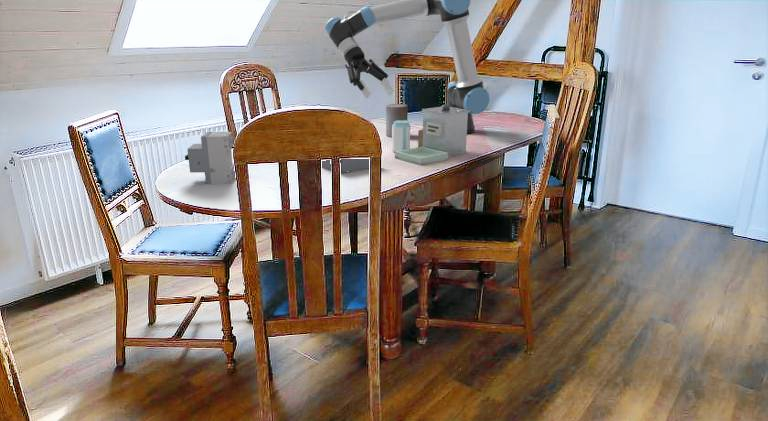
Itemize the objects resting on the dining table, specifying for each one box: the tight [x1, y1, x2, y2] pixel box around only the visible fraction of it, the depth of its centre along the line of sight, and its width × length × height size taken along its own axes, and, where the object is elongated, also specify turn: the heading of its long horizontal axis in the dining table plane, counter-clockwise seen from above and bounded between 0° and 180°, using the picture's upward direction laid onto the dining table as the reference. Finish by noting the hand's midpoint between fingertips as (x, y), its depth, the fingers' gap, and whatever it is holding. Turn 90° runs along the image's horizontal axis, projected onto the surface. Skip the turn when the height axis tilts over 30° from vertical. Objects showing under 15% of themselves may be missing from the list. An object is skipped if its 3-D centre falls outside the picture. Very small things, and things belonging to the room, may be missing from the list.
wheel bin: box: [321, 159, 370, 174], centre depth 191 cm, size 16×14×6 cm
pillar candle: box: [385, 101, 408, 138], centre depth 243 cm, size 10×10×15 cm
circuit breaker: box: [184, 131, 236, 185], centre depth 171 cm, size 8×14×15 cm, turn 95°
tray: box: [394, 146, 449, 166], centre depth 202 cm, size 14×14×2 cm
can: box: [391, 120, 411, 153], centre depth 212 cm, size 7×7×12 cm
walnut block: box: [417, 128, 423, 147], centre depth 221 cm, size 5×5×7 cm
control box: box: [421, 104, 470, 158], centre depth 210 cm, size 13×13×18 cm
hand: (380, 94), depth 209 cm, fingers open, 13 cm apart
